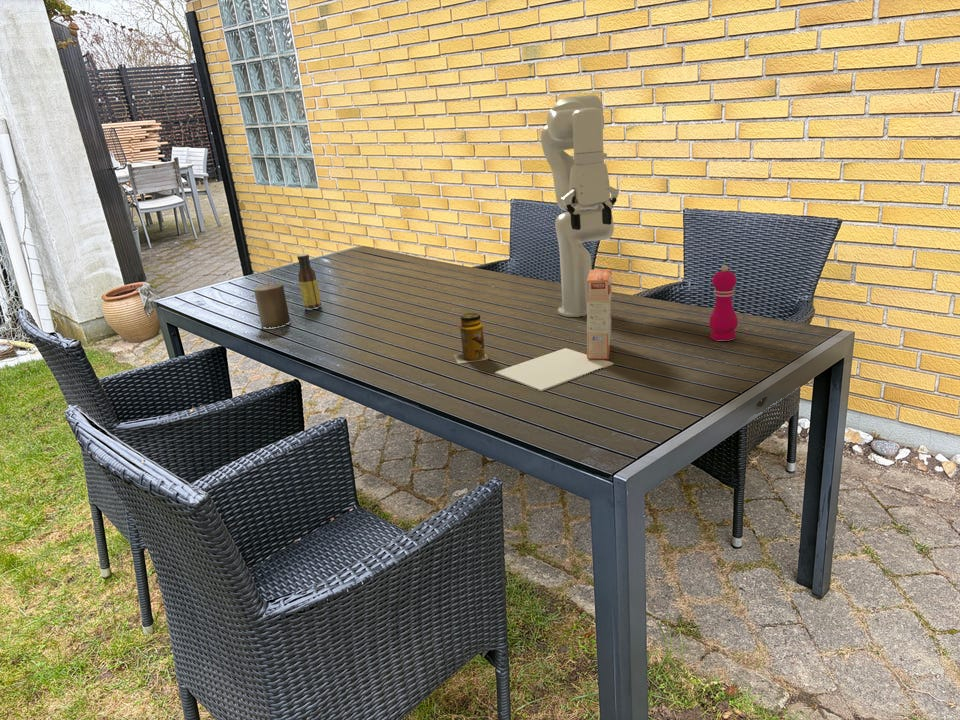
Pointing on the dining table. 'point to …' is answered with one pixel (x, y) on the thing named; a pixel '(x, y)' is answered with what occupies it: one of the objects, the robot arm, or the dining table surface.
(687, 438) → the dining table surface
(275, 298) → the pillar candle
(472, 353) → the condiment
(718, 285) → the pepper mill
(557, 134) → the robot arm
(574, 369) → the mat
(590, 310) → the cracker box
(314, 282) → the sauce bottle
